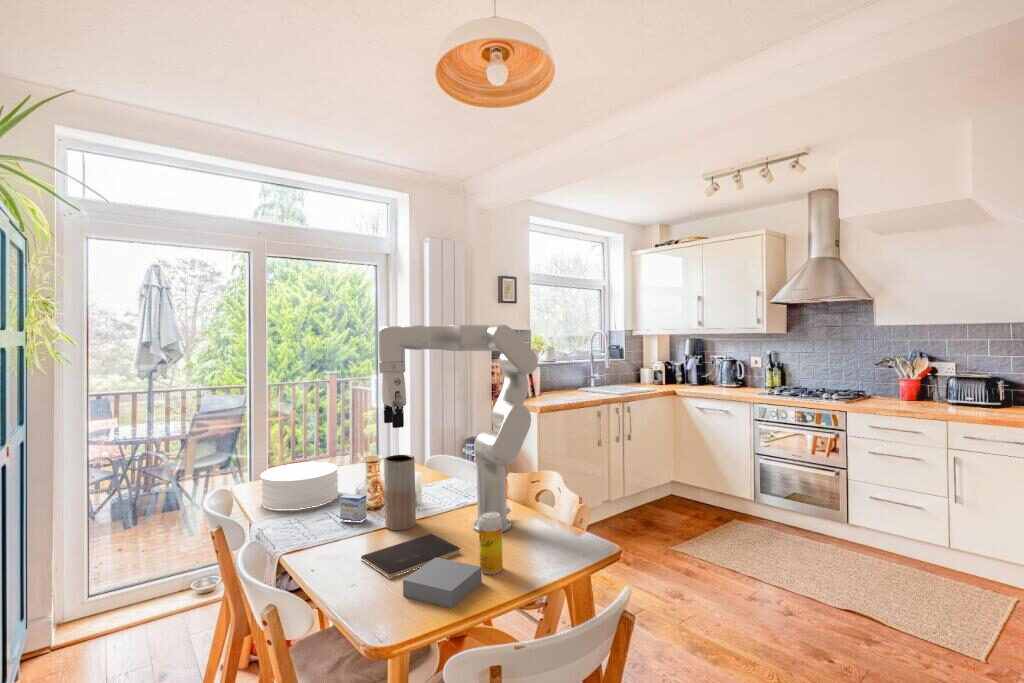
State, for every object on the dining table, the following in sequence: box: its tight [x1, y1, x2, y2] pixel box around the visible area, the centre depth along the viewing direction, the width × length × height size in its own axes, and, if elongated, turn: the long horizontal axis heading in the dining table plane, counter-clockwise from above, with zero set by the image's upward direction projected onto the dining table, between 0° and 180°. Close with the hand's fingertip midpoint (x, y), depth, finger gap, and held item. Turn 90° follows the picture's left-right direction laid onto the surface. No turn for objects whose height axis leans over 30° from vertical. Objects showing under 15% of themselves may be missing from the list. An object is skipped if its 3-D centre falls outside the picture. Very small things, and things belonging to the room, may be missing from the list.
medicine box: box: [339, 493, 368, 521], centre depth 181 cm, size 8×4×9 cm, turn 76°
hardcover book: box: [360, 533, 461, 579], centre depth 150 cm, size 16×23×2 cm
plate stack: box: [260, 461, 339, 509], centre depth 206 cm, size 28×28×12 cm
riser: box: [402, 557, 483, 609], centre depth 131 cm, size 14×14×4 cm
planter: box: [383, 454, 417, 531], centre depth 175 cm, size 10×10×23 cm
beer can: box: [478, 512, 503, 576], centre depth 140 cm, size 6×6×15 cm
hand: (393, 425), depth 156 cm, fingers open, 9 cm apart
